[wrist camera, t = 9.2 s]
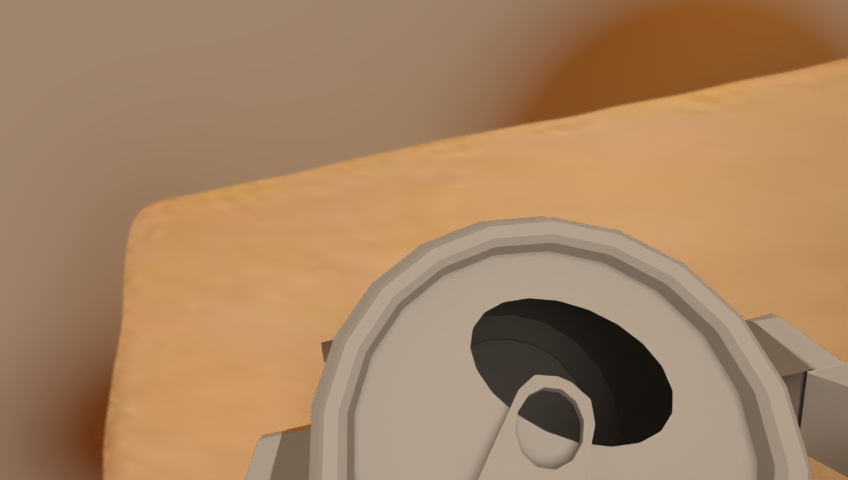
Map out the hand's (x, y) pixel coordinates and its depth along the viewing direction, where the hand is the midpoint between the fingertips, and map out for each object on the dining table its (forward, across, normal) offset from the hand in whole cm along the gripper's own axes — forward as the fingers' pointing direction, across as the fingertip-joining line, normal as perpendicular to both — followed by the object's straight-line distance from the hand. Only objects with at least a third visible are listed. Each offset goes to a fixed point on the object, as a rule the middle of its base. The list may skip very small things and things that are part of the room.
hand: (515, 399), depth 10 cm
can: (+5, 0, +6) cm, 8 cm away
